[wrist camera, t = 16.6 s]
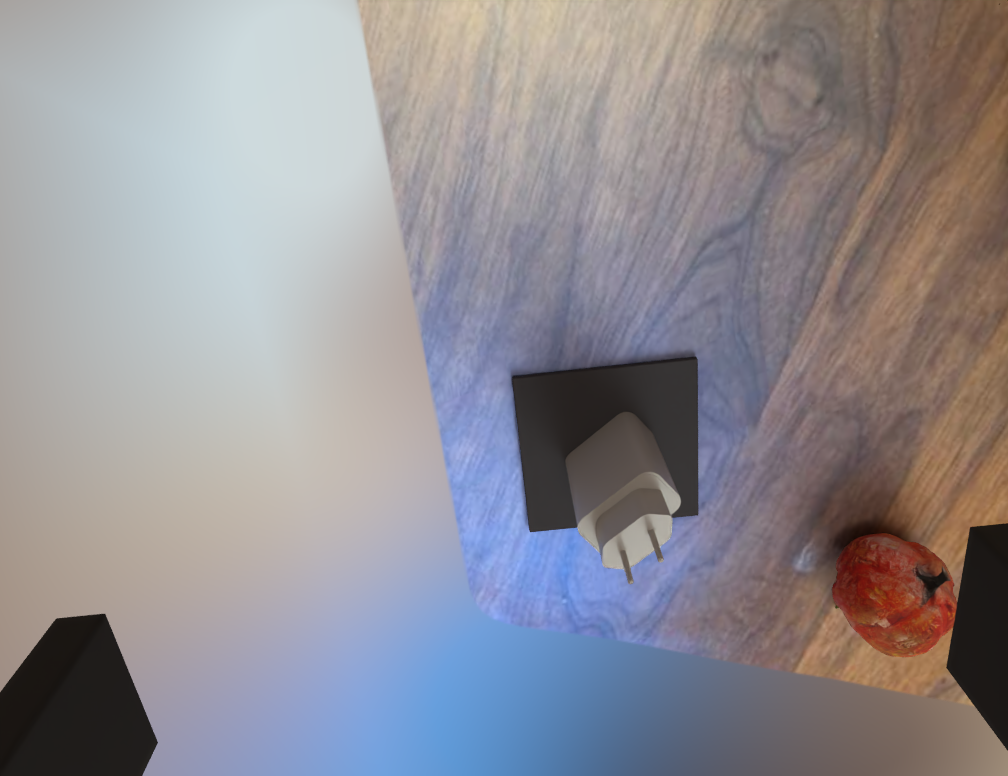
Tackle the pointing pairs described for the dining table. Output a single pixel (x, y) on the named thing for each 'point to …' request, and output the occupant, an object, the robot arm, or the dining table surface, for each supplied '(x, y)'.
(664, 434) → the mat
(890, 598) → the pomegranate
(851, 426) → the dining table surface
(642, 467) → the power adapter
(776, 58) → the dining table surface
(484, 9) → the dining table surface
